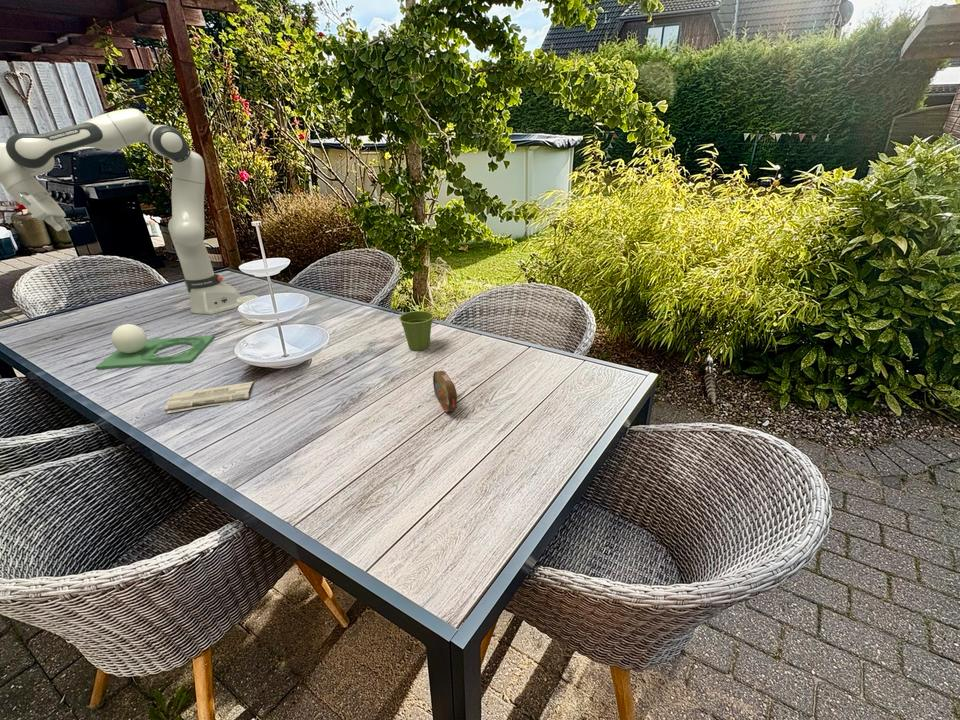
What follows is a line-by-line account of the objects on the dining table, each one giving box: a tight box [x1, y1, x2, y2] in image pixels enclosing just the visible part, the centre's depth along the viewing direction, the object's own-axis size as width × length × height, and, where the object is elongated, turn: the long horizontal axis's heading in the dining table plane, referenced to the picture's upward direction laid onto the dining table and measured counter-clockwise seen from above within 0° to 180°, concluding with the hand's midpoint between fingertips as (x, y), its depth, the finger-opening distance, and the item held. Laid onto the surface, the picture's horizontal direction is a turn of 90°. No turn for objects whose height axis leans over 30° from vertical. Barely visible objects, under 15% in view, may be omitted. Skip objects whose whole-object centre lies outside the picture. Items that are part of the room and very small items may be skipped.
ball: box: [110, 323, 148, 353], centre depth 166 cm, size 10×10×10 cm
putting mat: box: [95, 334, 216, 370], centre depth 170 cm, size 30×21×1 cm
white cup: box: [237, 294, 260, 326], centre depth 191 cm, size 8×8×10 cm
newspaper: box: [163, 381, 255, 414], centre depth 141 cm, size 23×12×2 cm, turn 105°
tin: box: [432, 370, 458, 413], centre depth 133 cm, size 15×3×8 cm, turn 21°
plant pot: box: [398, 310, 435, 351], centre depth 166 cm, size 12×12×11 cm
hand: (65, 229), depth 166 cm, fingers open, 8 cm apart
